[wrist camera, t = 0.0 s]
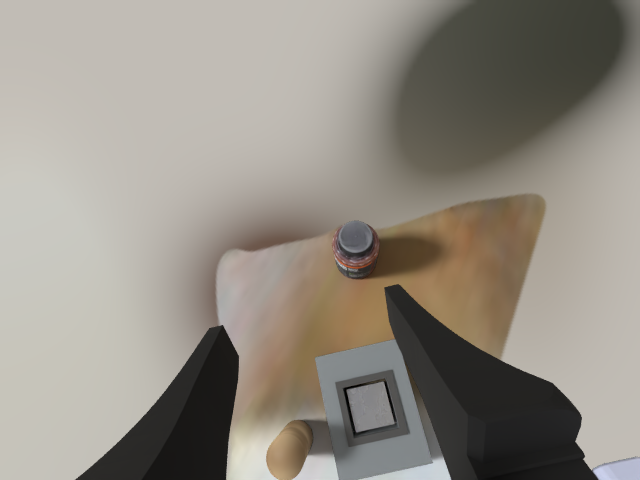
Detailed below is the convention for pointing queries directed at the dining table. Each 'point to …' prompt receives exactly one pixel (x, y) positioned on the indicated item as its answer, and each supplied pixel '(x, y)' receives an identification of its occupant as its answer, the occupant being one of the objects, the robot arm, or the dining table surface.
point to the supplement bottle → (356, 249)
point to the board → (379, 443)
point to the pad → (370, 406)
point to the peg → (289, 450)
